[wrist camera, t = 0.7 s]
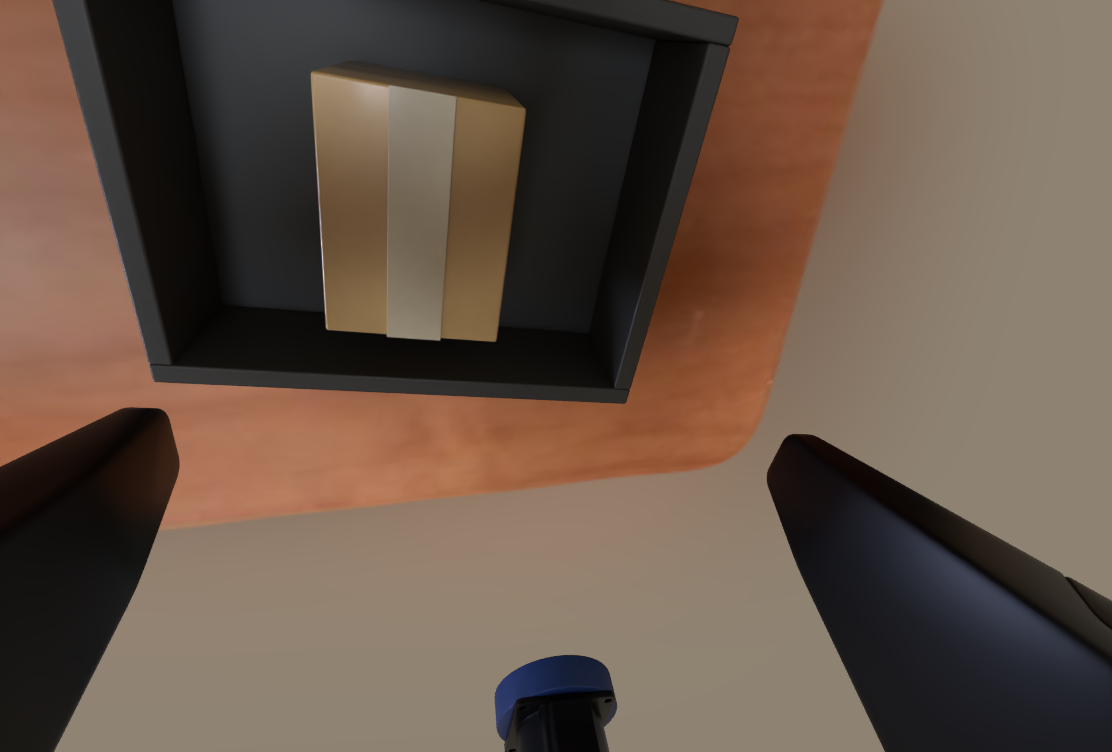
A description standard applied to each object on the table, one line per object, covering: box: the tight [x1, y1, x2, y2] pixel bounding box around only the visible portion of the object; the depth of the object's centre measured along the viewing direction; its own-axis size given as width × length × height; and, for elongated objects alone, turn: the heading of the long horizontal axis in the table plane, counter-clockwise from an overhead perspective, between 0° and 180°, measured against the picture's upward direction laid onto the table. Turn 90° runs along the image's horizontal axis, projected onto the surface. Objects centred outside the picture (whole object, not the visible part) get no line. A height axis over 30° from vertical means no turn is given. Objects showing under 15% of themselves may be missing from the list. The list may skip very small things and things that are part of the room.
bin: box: [53, 0, 739, 404], centre depth 15 cm, size 11×14×4 cm
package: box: [311, 60, 526, 342], centre depth 15 cm, size 6×4×5 cm
